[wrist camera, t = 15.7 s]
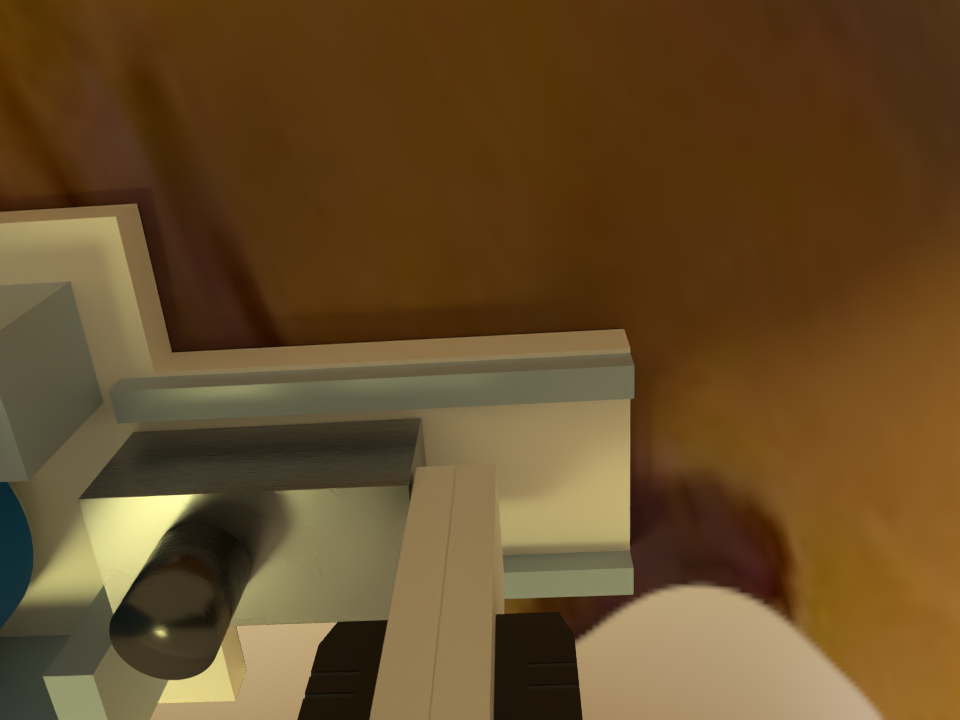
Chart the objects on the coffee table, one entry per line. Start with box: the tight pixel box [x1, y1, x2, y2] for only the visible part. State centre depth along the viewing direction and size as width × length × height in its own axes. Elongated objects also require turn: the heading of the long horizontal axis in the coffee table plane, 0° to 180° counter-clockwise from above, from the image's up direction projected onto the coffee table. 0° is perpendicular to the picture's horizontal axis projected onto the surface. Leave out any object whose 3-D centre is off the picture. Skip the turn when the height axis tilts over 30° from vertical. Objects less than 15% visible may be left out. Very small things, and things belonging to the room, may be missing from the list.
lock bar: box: [78, 419, 426, 680], centre depth 16 cm, size 6×3×4 cm, turn 94°
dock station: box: [0, 203, 635, 720], centre depth 18 cm, size 22×12×4 cm, turn 94°
